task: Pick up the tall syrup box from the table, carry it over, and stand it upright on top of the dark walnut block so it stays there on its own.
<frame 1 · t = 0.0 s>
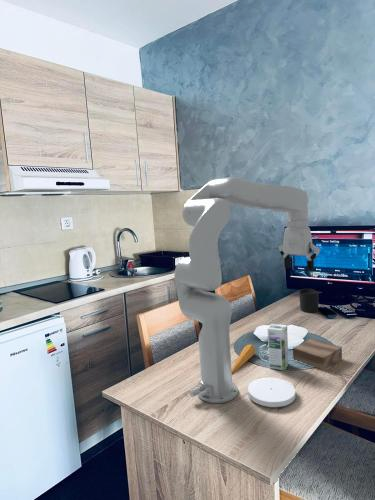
hand: (298, 269, 134), 31 cm above the table, tool pointing down, fingers open, 9 cm apart
plastic lid: (271, 397, 107), on the table
syrup box: (278, 366, 125), on the table
walnut block: (317, 360, 127), on the table
carrot: (240, 364, 128), on the table
pen holder: (309, 310, 182), on the table
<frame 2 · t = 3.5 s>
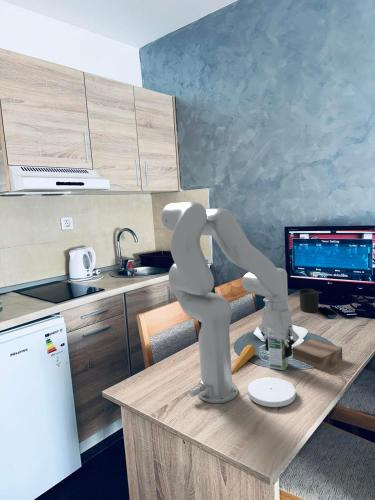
hand: (278, 352, 124), 5 cm above the table, tool pointing down, fingers closed on syrup box, 7 cm apart
syrup box: (278, 366, 125), on the table, touching gripper
everything else where it was.
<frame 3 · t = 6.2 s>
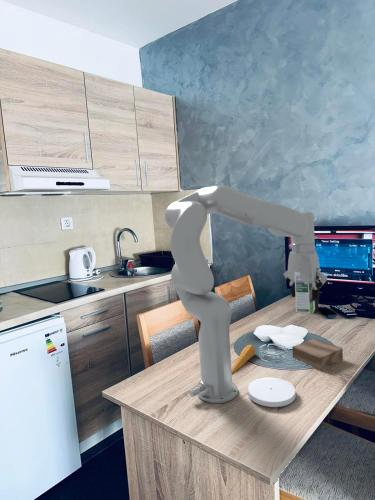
hand: (305, 297, 123), 23 cm above the table, tool pointing down, fingers closed on syrup box, 7 cm apart
syrup box: (305, 311, 124), point 18 cm above the table, touching gripper
everything else where it was.
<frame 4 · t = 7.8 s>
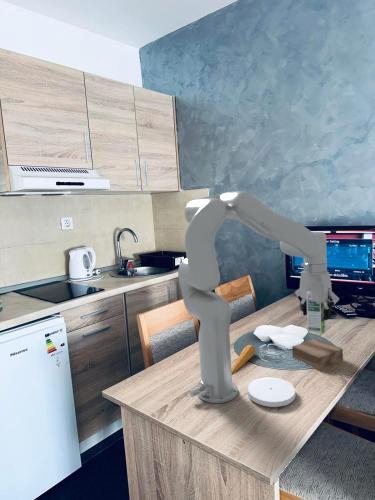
hand: (316, 316, 125), 16 cm above the table, tool pointing down, fingers closed on syrup box, 7 cm apart
syrup box: (316, 330, 126), point 11 cm above the table, touching gripper
everything else where it was.
when the fingers open (11 cm above the table, at t = 9.3 s): syrup box drops 2 cm, resting on walnut block.
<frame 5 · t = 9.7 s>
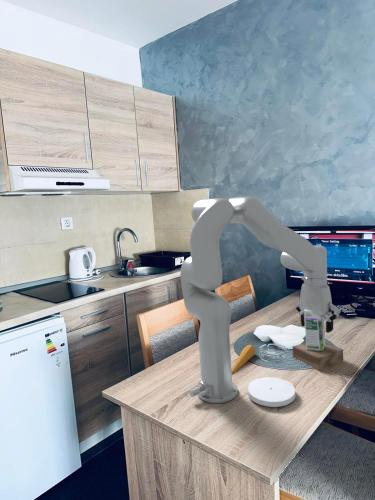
hand: (316, 328, 126), 12 cm above the table, tool pointing down, fingers open, 9 cm apart
syrup box: (316, 347, 127), point 4 cm above the table, touching walnut block
walnut block: (317, 361, 127), on the table, touching syrup box
everything else where it was.
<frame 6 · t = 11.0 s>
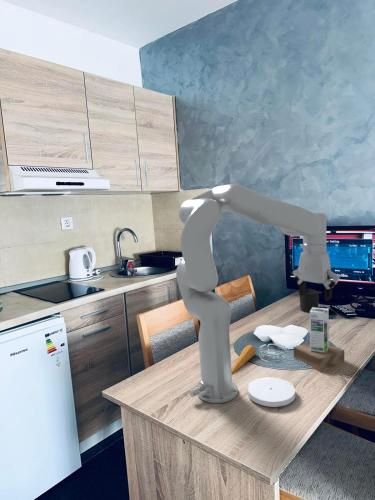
hand: (315, 297, 124), 23 cm above the table, tool pointing down, fingers open, 9 cm apart
syrup box: (319, 349, 126), point 4 cm above the table, touching walnut block
everything else where it was.
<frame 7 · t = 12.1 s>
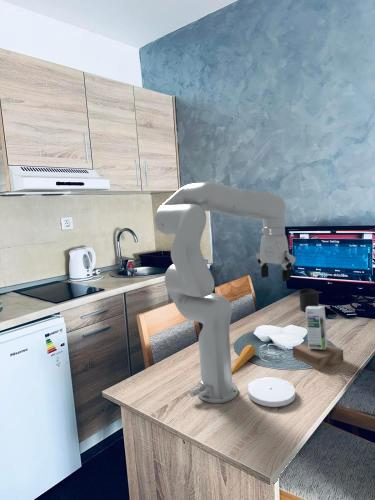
hand: (275, 278, 129), 29 cm above the table, tool pointing down, fingers open, 9 cm apart
syrup box: (318, 347, 126), point 5 cm above the table
walnut block: (317, 361, 127), on the table
everything else where it was.
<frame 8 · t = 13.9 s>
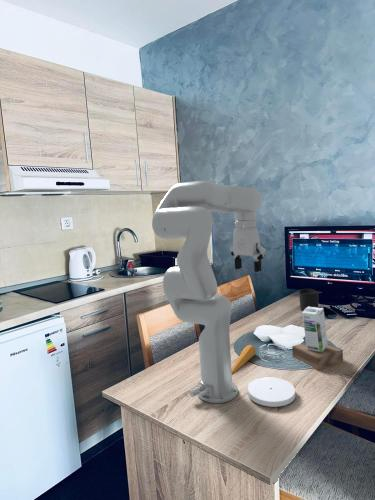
hand: (247, 270, 134), 32 cm above the table, tool pointing down, fingers open, 9 cm apart
syrup box: (317, 347, 126), point 5 cm above the table, touching walnut block
walnut block: (317, 361, 127), on the table, touching syrup box
everything else where it was.
at the end: syrup box inside the target area on the walnut block (0.4 cm from its centre), point 5.3 cm above the walnut block's base; syrup box tilted 9°; the gripper is holding nothing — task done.
